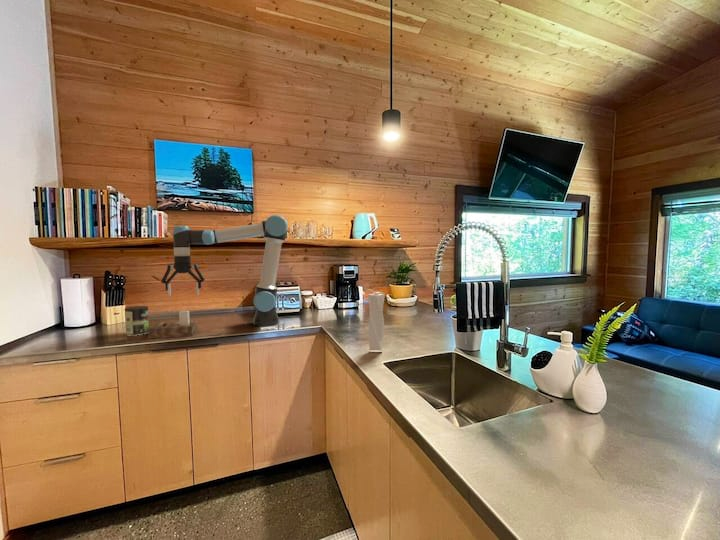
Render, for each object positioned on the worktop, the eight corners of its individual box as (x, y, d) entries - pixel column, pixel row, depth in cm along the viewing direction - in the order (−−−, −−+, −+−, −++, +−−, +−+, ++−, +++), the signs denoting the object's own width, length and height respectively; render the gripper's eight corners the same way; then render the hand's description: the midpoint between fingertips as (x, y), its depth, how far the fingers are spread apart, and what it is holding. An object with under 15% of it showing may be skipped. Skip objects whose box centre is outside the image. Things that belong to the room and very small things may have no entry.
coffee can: (152, 330, 176) (151, 305, 176) (143, 335, 166) (142, 309, 165) (132, 331, 175) (131, 306, 174) (121, 336, 165) (120, 309, 164)
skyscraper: (366, 353, 139) (367, 289, 137) (366, 348, 147) (366, 287, 145) (385, 353, 139) (385, 289, 137) (383, 348, 147) (384, 287, 145)
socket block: (197, 329, 180) (197, 320, 179) (192, 336, 166) (192, 326, 166) (157, 332, 174) (157, 322, 174) (148, 338, 161) (147, 329, 160)
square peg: (189, 332, 174) (189, 310, 173) (188, 334, 170) (187, 311, 169) (181, 332, 173) (181, 310, 172) (179, 334, 169) (179, 312, 168)
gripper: (209, 255, 176) (210, 293, 177) (157, 255, 169) (159, 295, 170) (206, 255, 169) (208, 295, 170) (152, 256, 162) (155, 297, 163)
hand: (184, 295), depth 170 cm, fingers open, 13 cm apart
